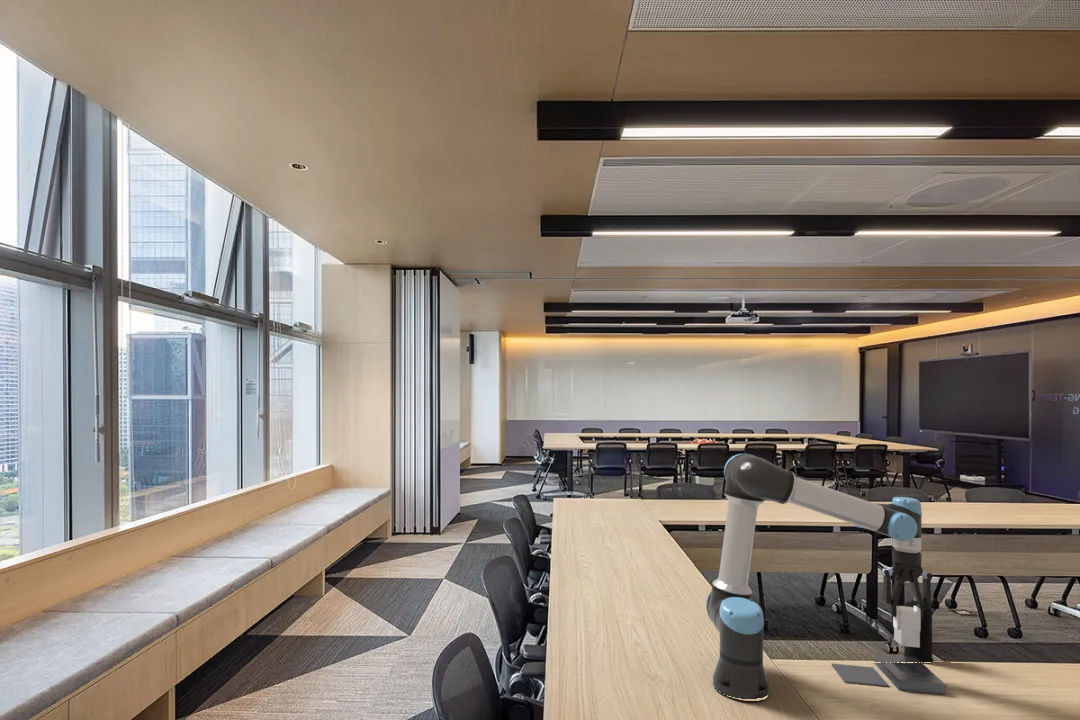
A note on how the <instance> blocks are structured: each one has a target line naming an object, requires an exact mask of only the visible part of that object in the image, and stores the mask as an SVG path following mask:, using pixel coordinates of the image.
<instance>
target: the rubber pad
mask: <svg viewBox="0 0 1080 720" xmlns="http://www.w3.org/2000/svg"><path fill="white" fill-rule="evenodd" d="M830 666H832V668H833V669H834V670H835V672H836V673H837V675H839V677H840V678H841V679H842V681H843V682H844V683H845V684H853V685H855V684H856V685H863V686H864V685H865V686H875V687H885V688H889V687H890V685H889V684H888V682H887V681H885V679H884V678H883V677H882V676H881V674H879V673H878V671H877V670H876V669H875V667H873V666H861V665H851V664H843V663H841V664H840V663H831V665H830Z"/></svg>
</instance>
